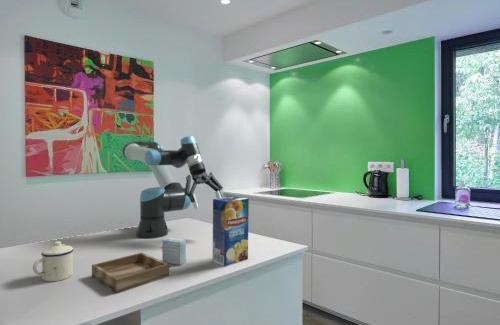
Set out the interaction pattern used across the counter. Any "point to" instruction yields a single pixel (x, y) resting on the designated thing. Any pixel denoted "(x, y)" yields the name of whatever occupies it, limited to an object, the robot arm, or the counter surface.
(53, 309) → the counter surface
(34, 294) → the counter surface
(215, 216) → the juice carton
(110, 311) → the counter surface
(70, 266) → the teacup with lid
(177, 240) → the medicine box
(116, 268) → the tray
